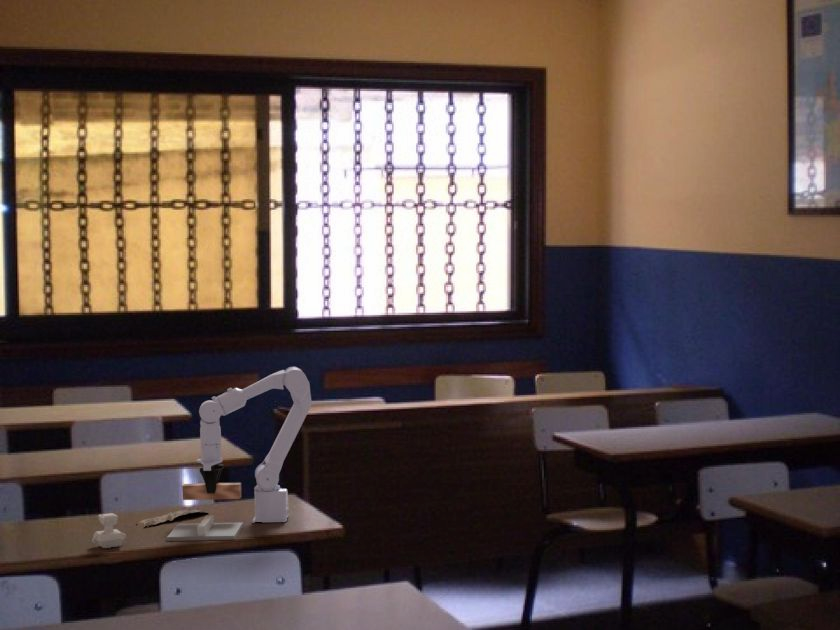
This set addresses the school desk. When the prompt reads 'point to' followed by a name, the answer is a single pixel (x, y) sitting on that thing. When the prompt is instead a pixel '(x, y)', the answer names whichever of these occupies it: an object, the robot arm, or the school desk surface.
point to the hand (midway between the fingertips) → (212, 491)
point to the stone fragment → (167, 517)
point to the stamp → (108, 532)
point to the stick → (201, 493)
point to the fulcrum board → (211, 535)
